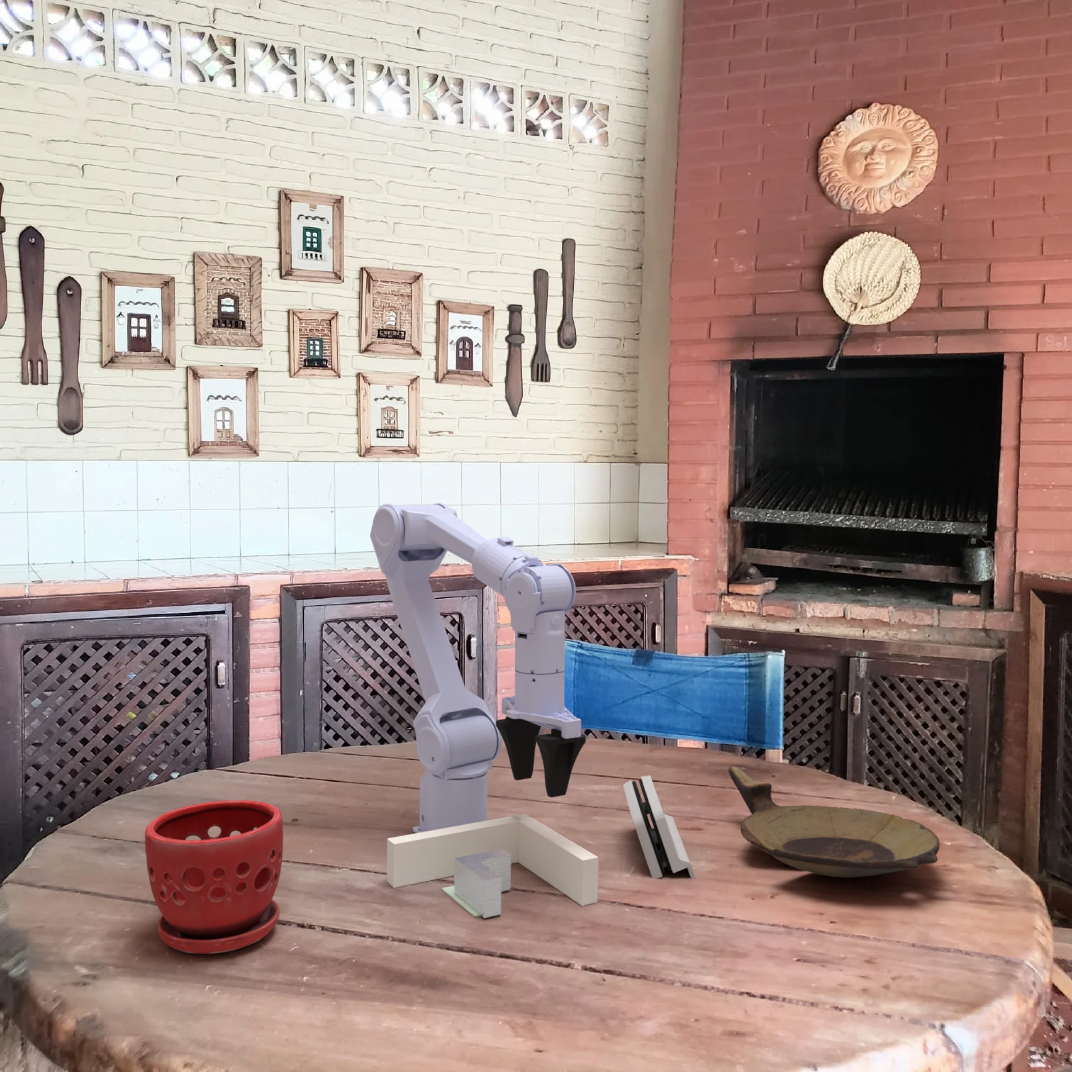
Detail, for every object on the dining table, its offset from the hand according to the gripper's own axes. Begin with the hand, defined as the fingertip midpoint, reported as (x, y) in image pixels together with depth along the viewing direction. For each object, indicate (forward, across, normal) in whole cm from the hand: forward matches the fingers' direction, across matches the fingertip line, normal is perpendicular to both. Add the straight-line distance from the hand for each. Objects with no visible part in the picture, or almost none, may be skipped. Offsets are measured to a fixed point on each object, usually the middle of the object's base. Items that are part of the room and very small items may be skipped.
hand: (539, 786), depth 118 cm
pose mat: (+10, +2, -8) cm, 13 cm away
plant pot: (+10, -3, -36) cm, 38 cm away
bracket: (+10, +4, -8) cm, 14 cm away
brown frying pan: (+11, +12, +34) cm, 38 cm away
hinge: (+11, 0, +16) cm, 20 cm away
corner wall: (+10, +1, -7) cm, 13 cm away
